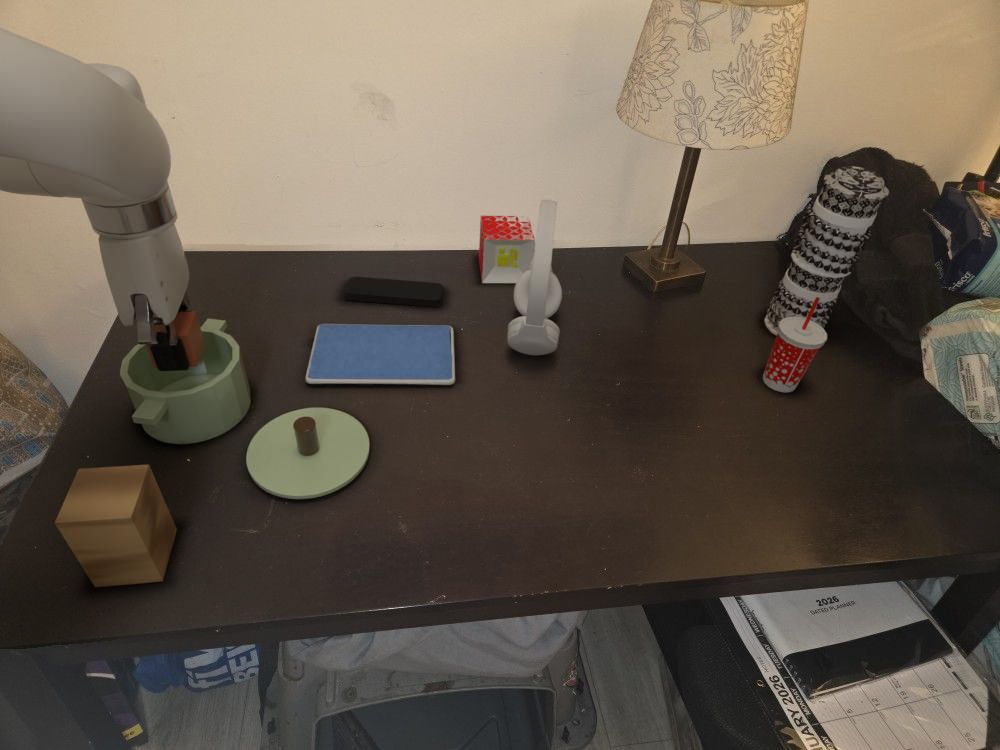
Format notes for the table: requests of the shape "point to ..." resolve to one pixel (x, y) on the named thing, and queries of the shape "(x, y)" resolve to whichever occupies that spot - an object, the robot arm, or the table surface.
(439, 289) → the remote control
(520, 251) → the red and white cube
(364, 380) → the tablet
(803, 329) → the beverage cup
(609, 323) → the table surface
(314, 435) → the lid
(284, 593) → the table surface
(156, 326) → the block
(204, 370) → the light green round pot
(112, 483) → the block
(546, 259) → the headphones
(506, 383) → the table surface
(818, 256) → the white patterned cylinder
